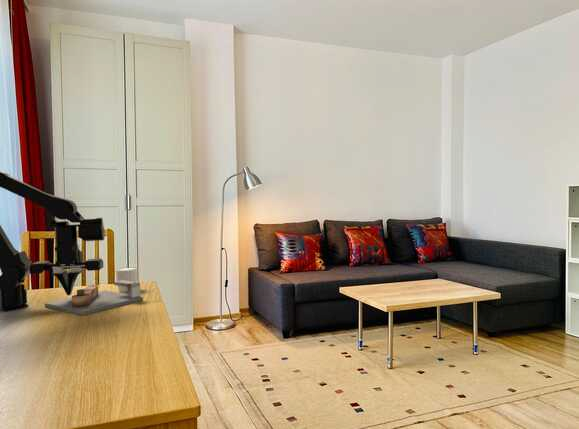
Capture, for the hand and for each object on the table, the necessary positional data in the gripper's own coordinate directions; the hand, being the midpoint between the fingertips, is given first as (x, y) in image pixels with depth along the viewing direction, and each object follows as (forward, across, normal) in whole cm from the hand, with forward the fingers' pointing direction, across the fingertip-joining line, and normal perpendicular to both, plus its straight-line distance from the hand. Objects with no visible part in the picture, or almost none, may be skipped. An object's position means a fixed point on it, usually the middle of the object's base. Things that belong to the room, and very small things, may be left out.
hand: (69, 295), depth 130 cm
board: (+2, -8, +3) cm, 8 cm away
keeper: (+2, -16, 0) cm, 16 cm away
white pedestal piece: (+3, -14, -15) cm, 21 cm away
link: (+1, -5, +2) cm, 6 cm away
